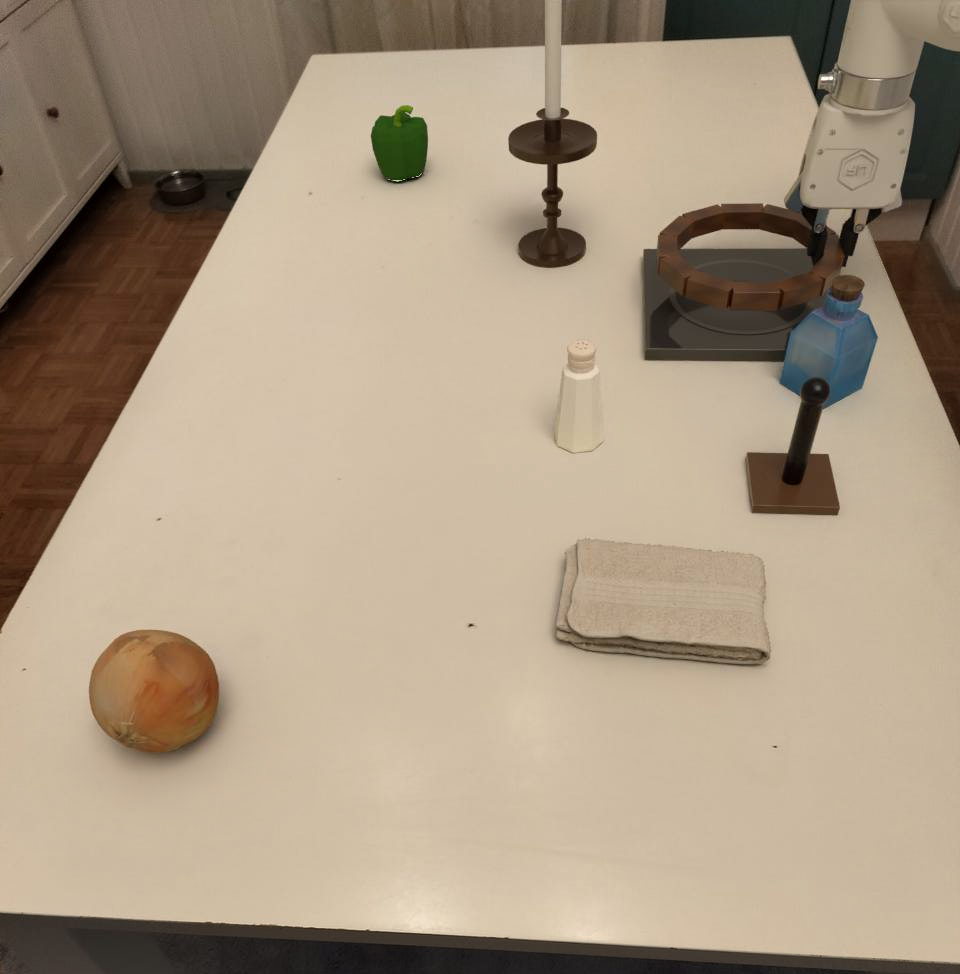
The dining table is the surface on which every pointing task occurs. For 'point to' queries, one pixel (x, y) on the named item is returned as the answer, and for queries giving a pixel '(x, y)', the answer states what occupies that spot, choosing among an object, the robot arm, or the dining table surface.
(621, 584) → the washcloth
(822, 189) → the robot arm
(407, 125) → the bell pepper
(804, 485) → the post
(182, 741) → the onion
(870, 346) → the perfume bottle
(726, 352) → the hob
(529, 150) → the candlestick
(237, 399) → the dining table surface
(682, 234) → the ring
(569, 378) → the pepper shaker
